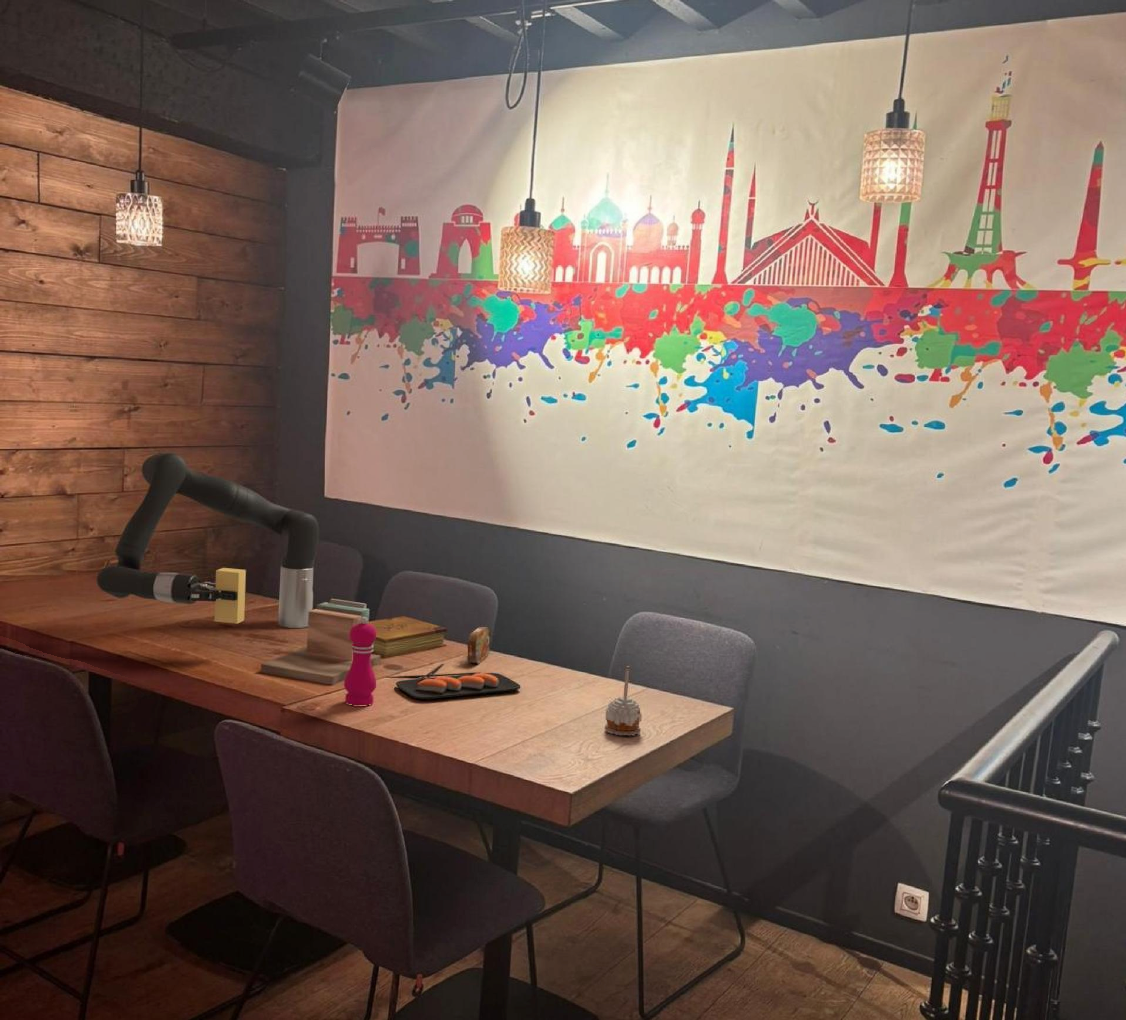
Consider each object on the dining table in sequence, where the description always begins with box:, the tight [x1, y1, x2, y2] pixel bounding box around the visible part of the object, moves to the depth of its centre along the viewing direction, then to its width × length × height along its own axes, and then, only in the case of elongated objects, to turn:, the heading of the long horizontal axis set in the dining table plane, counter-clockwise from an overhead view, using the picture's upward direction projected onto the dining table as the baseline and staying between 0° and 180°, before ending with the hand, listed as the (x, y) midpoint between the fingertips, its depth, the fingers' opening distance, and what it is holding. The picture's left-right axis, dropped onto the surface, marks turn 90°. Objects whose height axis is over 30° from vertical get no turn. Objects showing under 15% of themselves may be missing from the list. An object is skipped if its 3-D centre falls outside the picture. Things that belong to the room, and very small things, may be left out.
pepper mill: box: [343, 617, 377, 706], centre depth 246 cm, size 7×7×20 cm
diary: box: [369, 615, 448, 659], centre depth 301 cm, size 23×19×6 cm
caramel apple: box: [604, 665, 642, 736], centre depth 240 cm, size 8×8×15 cm
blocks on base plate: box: [260, 598, 382, 686], centre depth 273 cm, size 24×20×15 cm
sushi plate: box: [385, 663, 521, 700], centre depth 270 cm, size 29×30×4 cm
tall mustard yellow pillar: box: [214, 567, 247, 624], centre depth 273 cm, size 4×6×13 cm, turn 82°
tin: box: [467, 626, 492, 665], centre depth 292 cm, size 15×3×8 cm, turn 168°
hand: (240, 594), depth 273 cm, fingers closed on tall mustard yellow pillar, 4 cm apart
